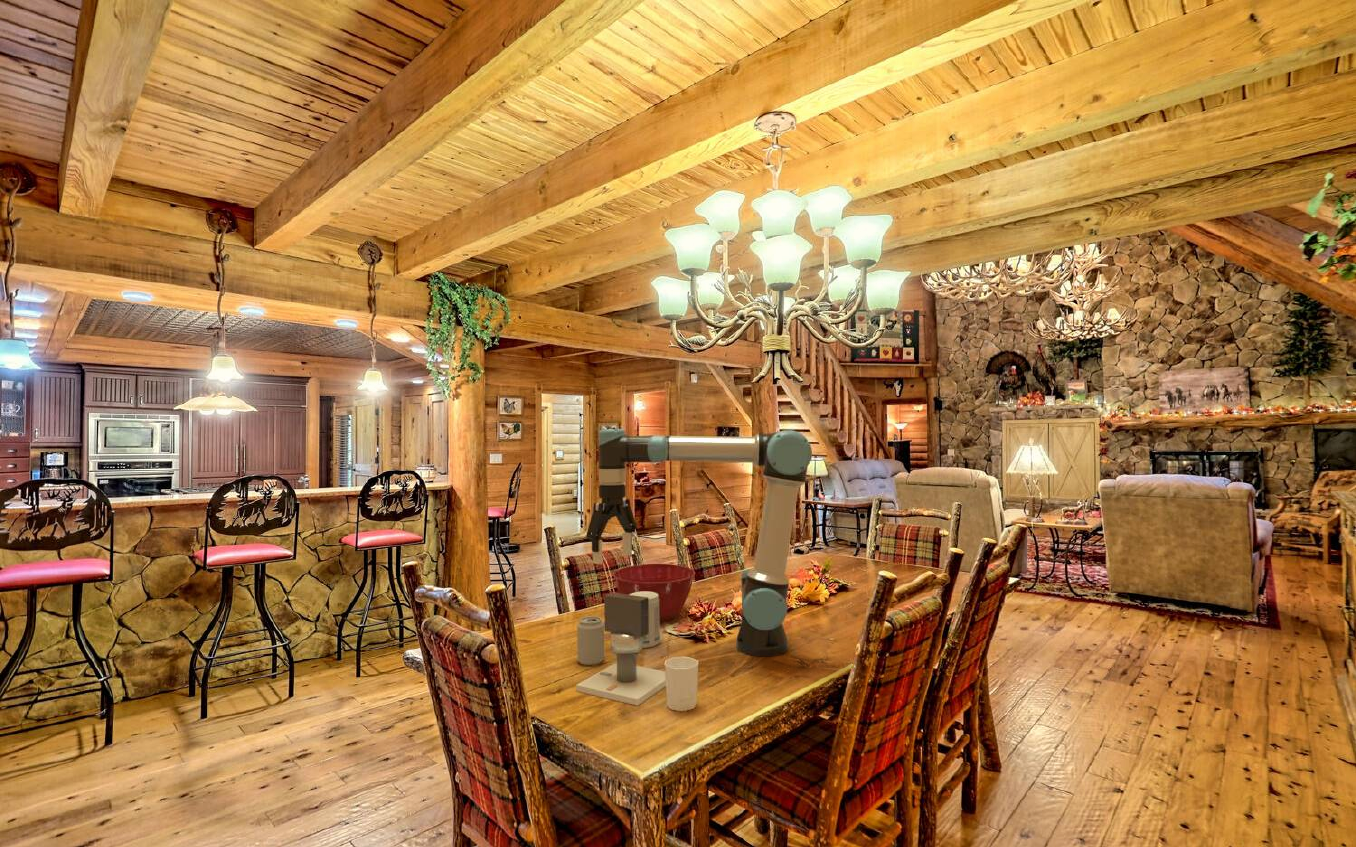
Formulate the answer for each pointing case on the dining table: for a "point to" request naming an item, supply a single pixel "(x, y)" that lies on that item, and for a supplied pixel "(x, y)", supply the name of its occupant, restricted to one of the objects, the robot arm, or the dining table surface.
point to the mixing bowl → (658, 584)
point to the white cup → (681, 683)
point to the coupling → (626, 621)
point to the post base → (624, 689)
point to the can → (590, 640)
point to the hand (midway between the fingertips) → (612, 559)
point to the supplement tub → (651, 619)
